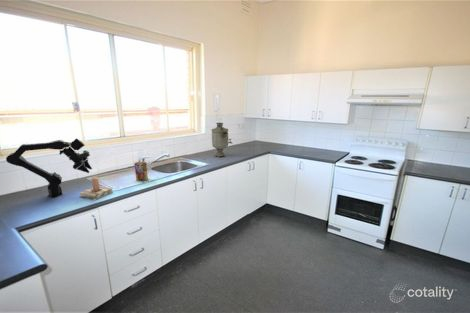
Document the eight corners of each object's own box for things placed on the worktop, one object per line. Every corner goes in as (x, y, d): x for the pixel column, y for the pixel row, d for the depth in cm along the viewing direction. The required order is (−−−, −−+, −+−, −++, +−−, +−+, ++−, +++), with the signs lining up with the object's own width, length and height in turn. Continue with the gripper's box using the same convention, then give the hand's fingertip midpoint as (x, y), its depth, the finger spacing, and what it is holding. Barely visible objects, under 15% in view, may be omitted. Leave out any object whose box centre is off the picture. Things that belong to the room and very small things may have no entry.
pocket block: (95, 199, 155) (94, 195, 154) (80, 196, 160) (80, 192, 159) (112, 192, 168) (112, 188, 167) (98, 189, 173) (98, 185, 172)
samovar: (235, 159, 267) (236, 124, 257) (213, 159, 262) (212, 124, 252) (230, 153, 295) (231, 121, 286) (210, 153, 290) (209, 121, 280)
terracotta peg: (96, 195, 162) (94, 179, 159) (92, 194, 163) (90, 178, 160) (101, 193, 165) (99, 177, 162) (97, 192, 167) (95, 176, 164)
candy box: (147, 178, 198) (146, 161, 195) (147, 179, 194) (145, 162, 191) (136, 178, 196) (135, 161, 193) (135, 180, 192) (134, 162, 188)
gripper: (78, 149, 154) (97, 166, 160) (84, 145, 170) (101, 160, 177) (64, 160, 152) (83, 177, 158) (72, 155, 169) (89, 170, 175)
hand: (90, 170), depth 167 cm, fingers open, 9 cm apart
